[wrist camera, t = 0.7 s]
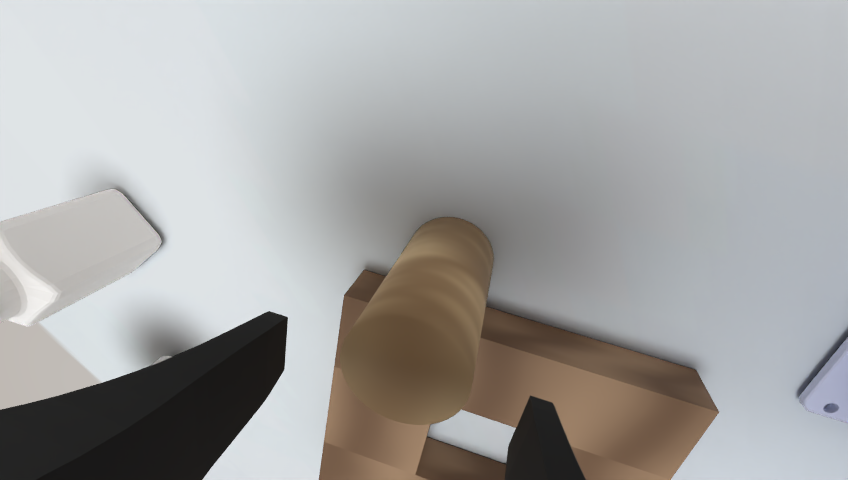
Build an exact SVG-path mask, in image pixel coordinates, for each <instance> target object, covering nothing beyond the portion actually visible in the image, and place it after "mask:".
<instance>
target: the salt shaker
mask: <svg viewBox="0 0 848 480" xmlns="http://www.w3.org/2000/svg"><path fill="white" fill-rule="evenodd" d="M161 242H162V241H161V238H160V236H159V234H158V233H157V232H156V231H155V230H154V229H153V228H152V226H151V225H150V224H149V223H148V222H147V221H146V220H145V218H144V217H143V216H142V215H141V214H140V213H139V212H138V210H137V209H136V208H135V207H134V206H133V205H132V204H131V203H130V201H129V200H128V199H127V198H126V197H125V196H124V195H123V194H122V193H121V192H119V191H118V190H116V189H109V190H105V191H101V192H98V193H94V194H91V195H88V196H84V197H81V198H78V199H74V200H71V201H68V202H64V203H61V204H58V205H54V206H51V207H48V208H44V209H41V210H38V211H34V212H31V213H28V214H24V215H21V216H18V217H14V218H11V219H8V220H4V221H1V222H0V323H1V322H3V321H5V320H9V321H12V322H15V323H18V324H21V325H24V326H31V325H34V324H35V323H37V322H39V321H41V320H43V319H45V318H47V317H49V316H51V315H52V314H54V313H56V312H58V311H60V310H62V309H64V308H66V307H68V306H70V305H71V304H73V303H75V302H77V301H79V300H81V299H83V298H85V297H87V296H88V295H90V294H92V293H94V292H96V291H98V290H100V289H102V288H104V287H105V286H107V285H109V284H111V283H113V282H115V281H117V280H119V279H121V278H123V277H124V276H126V275H128V274H130V273H132V272H133V271H134V270H135V269H136V268H137V267H139V266H140V265H141V264H142V263H143V262H144V261H145V260H147V259H148V258H149V257H150V256H151V255H152V254H153V253H155V252H156V251H157V249H158V248H159V247H160V245H161Z"/></svg>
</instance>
